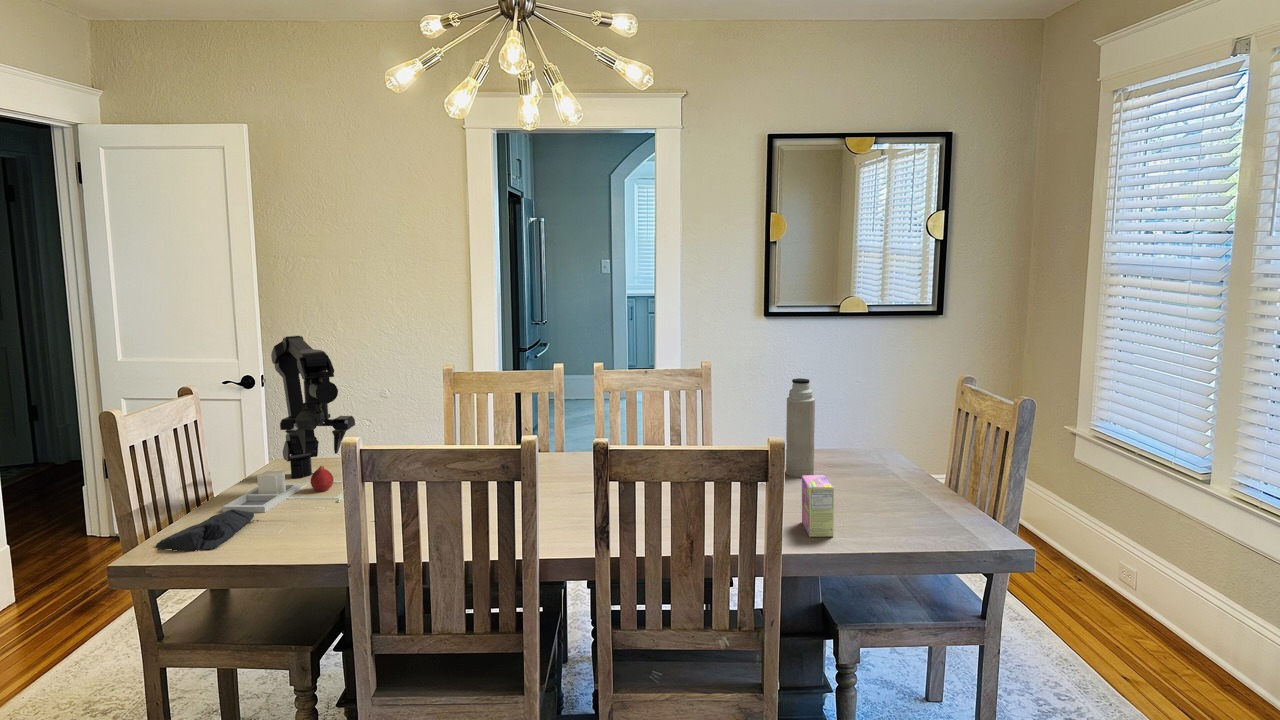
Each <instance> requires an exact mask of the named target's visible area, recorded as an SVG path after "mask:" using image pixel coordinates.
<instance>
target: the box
mask: <svg viewBox="0 0 1280 720" xmlns="http://www.w3.org/2000/svg"><path fill="white" fill-rule="evenodd" d="M834 503H835V487H834V486H833V484H832V483H831V482H830V480H829V479H828V477H826V475H825V474H820V475H819V474H813V475H804V476H802V477H801V522H802V525H803V527H804V529H805V530H806V531H805V532H806V533H807V535H808V538H809V537H810V538H816V537H817V538H827V537H829V538H830V537H832V538H833V537H834V525H835V524H834V523H835V522H834V521H835V519H834V518H835V517H834V515H835V514H834V512H835V511H834V510H835V507H834V506H835V505H834Z"/></svg>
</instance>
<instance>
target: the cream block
mask: <svg viewBox="0 0 1280 720" xmlns="http://www.w3.org/2000/svg"><path fill="white" fill-rule="evenodd" d="M285 474H286V473H285V470H266V471H264V472H262V473H260V474H259V475H257V476H256V477H257V478H256V479H257V487H258V492H259V494H281V493H283V492H284V491H286V485H285V484H286V477H285Z"/></svg>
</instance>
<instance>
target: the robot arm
mask: <svg viewBox="0 0 1280 720" xmlns="http://www.w3.org/2000/svg"><path fill="white" fill-rule="evenodd" d="M270 357H271V362H272V364H274V369H275V371H276V372H277V373H278V374H279V376H280V377H281V378H282V382H283V388H284V395H285V402H286V408H287V414H288V416H286V417H284V418H282V419H281V420H280V423H279V428H280V429H279V430H280V431H284V432H285V433H286V434H285V441H284V444H283V448H282V457H283V460H285V461H286V462H290V475H291V480H292V479H293V480H295V479H300V480H301V479H304V478H306V477H307V478H308V477H310V476H312V475H313V473H314V472H313V469H312V468H313V467H312V458H317V457H318V454H319V443H320V442H319V440H318V438H317V436H315V429H316V428H317V427H332V428H333V429H334V430H332V431H331V432H332V435H333V450H334V451H333V452H334V454H335V455H336V454H338V453H339V450H340V447H341V444H342V442H341V441H343V439H344V438H345V435H346V432H347V431H349V430H350V429H352V428H353V427H355V426H356V420H355V418H354V416H353V415H339V416H337V417H335V418H331V413H329V404H330V403H332V402H333V401H335V400H336V399H337V397H338V394H339V390H338V389H339V388H338V386H336V384H335V383H333V382H332V381H331V380H330V379H331V378H334V377H335V374H334V373H335V368H334V366H333V363H332V360H331V359H330V357H329V355H328V354H327V353H326V351H324V350H321V349H314V348H312V346H310V345H309V344H308V343H307V342H306V341H305V340H304V337H303V336H302V335H290V336H285V337H283V339H282V341H280V342H279V343H277V344H276V345H274V346H273V349H272V351H271V355H270ZM300 376H301V378H302V380H303V383H302V384H303V392H302V385H301V379H300ZM303 395H304V398H303Z"/></svg>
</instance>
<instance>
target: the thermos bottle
mask: <svg viewBox="0 0 1280 720" xmlns="http://www.w3.org/2000/svg"><path fill="white" fill-rule="evenodd" d="M791 382H792V386H791V387H792V388H790V389H789V393H788V396H787V398H786V432H785V433H786V434H785V435H786V438H785V439H786V441H785V442H786V449H785V451H786V452H785V459H786V460H785V474H786V475H787V476H790V477H794V478H802V476H804V475H815V424H816V423H815V420H816V418H815V413H816V412H815V411H816V408H815V407H816V399H815V398H814V397H813V395H814V394H813V390H812V389H811V388H810V387H811V386H810V379H808V378H793V379H792V380H791Z"/></svg>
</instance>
